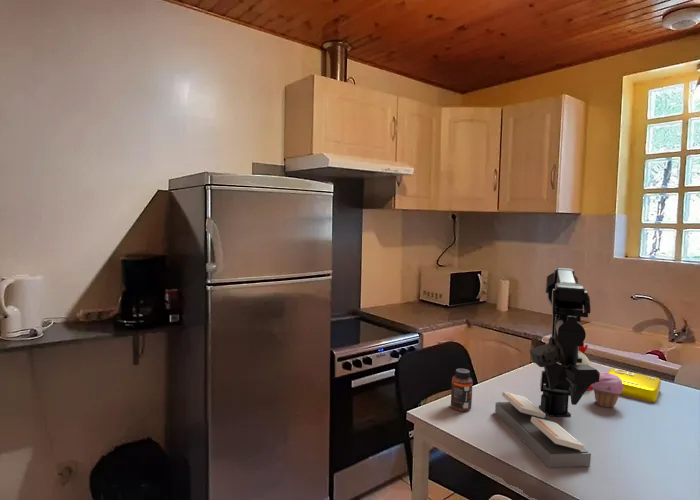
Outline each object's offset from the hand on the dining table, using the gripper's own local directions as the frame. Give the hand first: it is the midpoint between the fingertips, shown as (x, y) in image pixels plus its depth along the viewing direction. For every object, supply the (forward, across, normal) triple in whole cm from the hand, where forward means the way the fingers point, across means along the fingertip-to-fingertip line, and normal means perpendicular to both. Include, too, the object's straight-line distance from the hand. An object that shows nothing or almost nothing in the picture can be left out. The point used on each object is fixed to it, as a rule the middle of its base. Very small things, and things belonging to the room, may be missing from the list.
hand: (562, 396), depth 110 cm
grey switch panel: (+12, -4, -4) cm, 13 cm away
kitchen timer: (+12, -39, +29) cm, 50 cm away
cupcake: (+12, -21, +28) cm, 37 cm away
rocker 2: (+7, +4, -4) cm, 9 cm away
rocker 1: (+7, -12, -4) cm, 14 cm away
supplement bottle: (+12, -21, -18) cm, 30 cm away
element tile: (+13, -32, +45) cm, 57 cm away
